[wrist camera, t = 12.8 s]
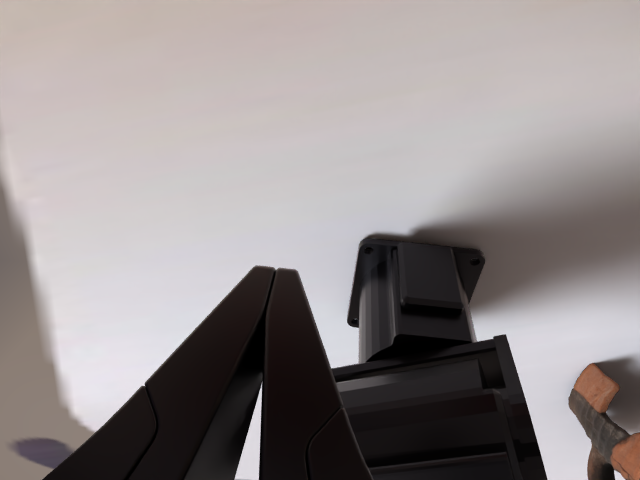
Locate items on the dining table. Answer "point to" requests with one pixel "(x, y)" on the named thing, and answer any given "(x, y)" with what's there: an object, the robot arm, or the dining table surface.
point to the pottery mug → (604, 428)
